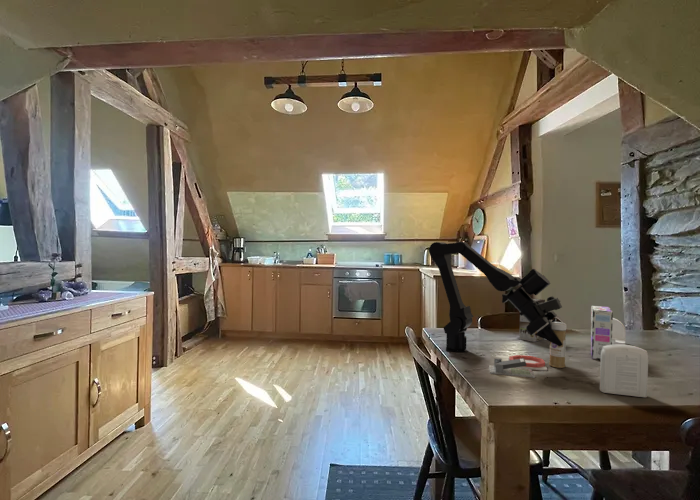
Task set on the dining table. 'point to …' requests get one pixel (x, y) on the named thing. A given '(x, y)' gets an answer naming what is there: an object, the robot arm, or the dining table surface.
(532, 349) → the dining table surface
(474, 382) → the dining table surface
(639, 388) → the photo printer
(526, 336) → the coffee box
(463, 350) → the robot arm
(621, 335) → the u-slot stand
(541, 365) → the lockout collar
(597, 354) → the candy box
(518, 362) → the block
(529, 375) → the panel
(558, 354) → the sprinkles bottle
